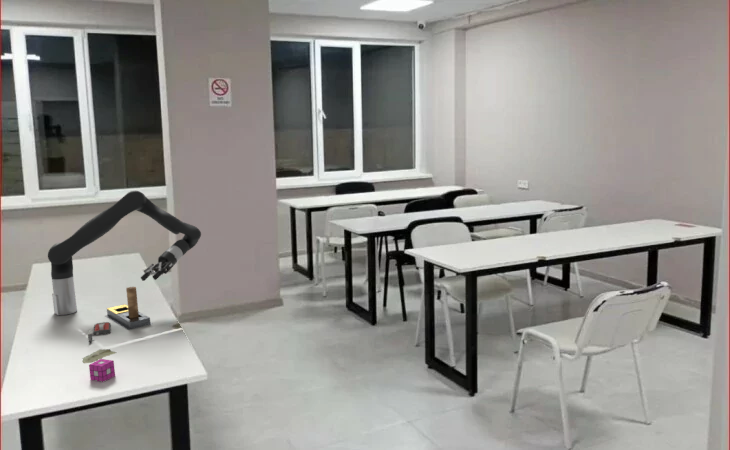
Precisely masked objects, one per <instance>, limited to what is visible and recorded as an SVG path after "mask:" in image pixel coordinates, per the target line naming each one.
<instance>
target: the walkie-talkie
mask: <svg viewBox="0 0 730 450" xmlns="http://www.w3.org/2000/svg"><path fill="white" fill-rule="evenodd" d="M111 325H112V324H111V322H108V321H103V322H97V323H95V324H94V326H93V328H92V329H89V331H88V333H87V339H88V343H92V338H93V336H99V335H103V336H104V335H105V336H106V335H108V334H111V332H112V330H111Z"/></svg>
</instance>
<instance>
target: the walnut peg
mask: <svg viewBox="0 0 730 450" xmlns="http://www.w3.org/2000/svg"><path fill="white" fill-rule="evenodd" d="M125 290H126V298H127V299H126V300H127V305H128V311H129V319H134V318H138V317H139V313H138V312H139V307H138V306H139V305H138V293H137V287H136V286H128V287H126V289H125Z"/></svg>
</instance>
